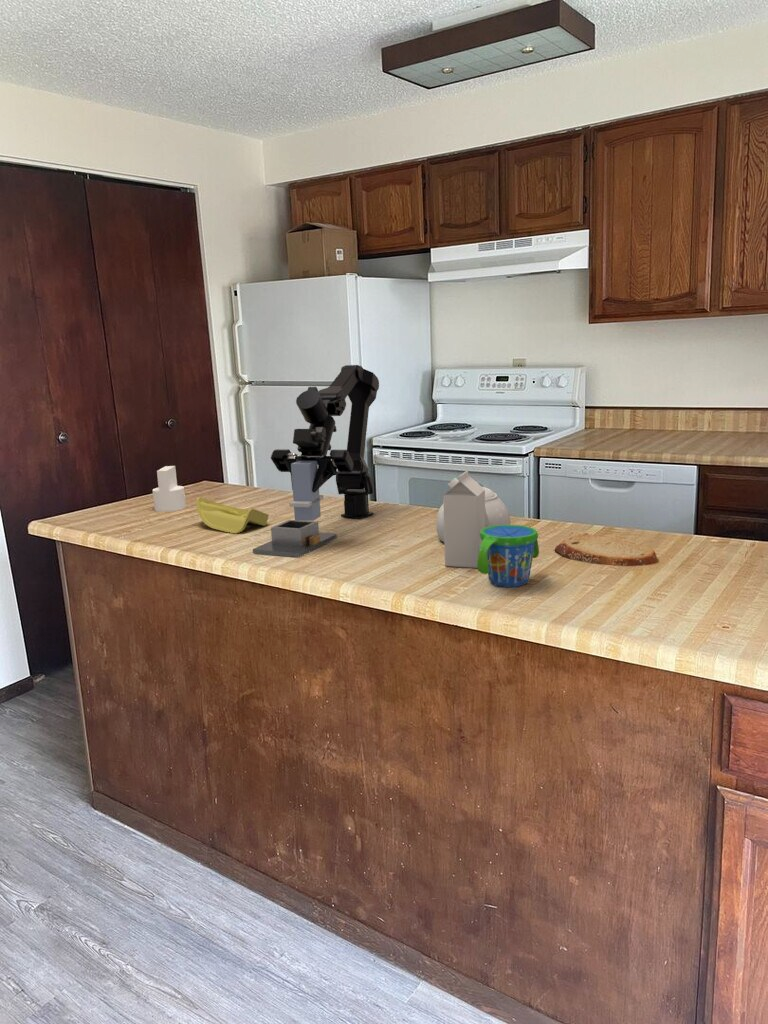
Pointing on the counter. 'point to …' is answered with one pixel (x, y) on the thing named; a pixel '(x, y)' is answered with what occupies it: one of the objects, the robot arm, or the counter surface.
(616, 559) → the slice of bread
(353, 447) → the robot arm
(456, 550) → the milk carton
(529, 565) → the snack cup
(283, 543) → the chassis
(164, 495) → the cylinder with rectangular tab
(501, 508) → the teapot
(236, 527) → the plastic component
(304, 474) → the grey tall block
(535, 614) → the counter surface
